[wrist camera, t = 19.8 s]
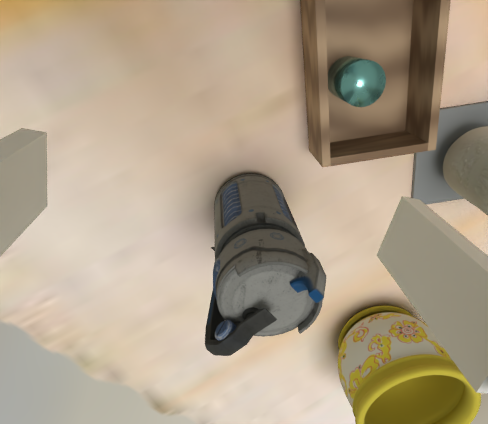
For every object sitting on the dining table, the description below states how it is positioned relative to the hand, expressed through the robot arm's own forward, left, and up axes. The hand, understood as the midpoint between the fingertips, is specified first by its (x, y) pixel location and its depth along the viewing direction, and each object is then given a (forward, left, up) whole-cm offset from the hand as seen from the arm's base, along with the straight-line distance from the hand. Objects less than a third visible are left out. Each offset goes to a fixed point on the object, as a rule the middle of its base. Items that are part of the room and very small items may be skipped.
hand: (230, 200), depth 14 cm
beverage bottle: (+18, +1, -37) cm, 41 cm away
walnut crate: (+1, +18, -37) cm, 41 cm away
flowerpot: (+47, +21, -37) cm, 63 cm away
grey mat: (+15, +33, -37) cm, 52 cm away
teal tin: (+2, +16, -36) cm, 39 cm away
